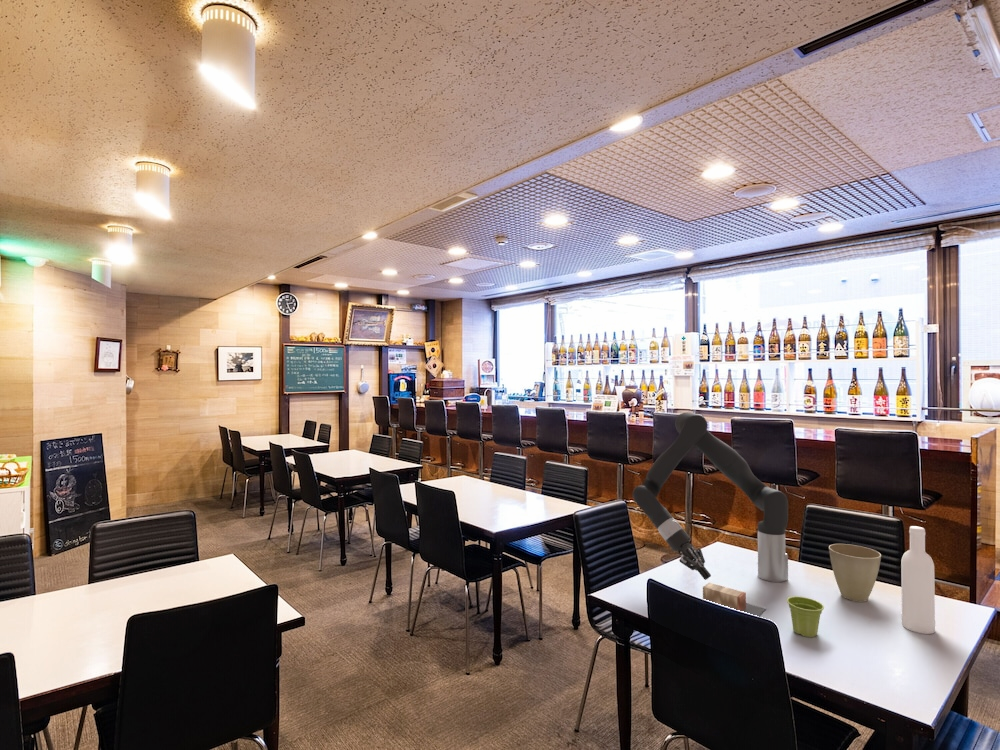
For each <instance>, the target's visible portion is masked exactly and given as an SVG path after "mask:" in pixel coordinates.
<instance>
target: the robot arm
mask: <svg viewBox="0 0 1000 750" xmlns="http://www.w3.org/2000/svg"><path fill="white" fill-rule="evenodd" d="M674 426H675V429H676V431H677V433H678V436H677V437H676V439H675V440H674V441H673V443H672V444H671V445H670V446H669V447H668V448H667V449H666V450H665V451H664V452H662V453H661V454H660V455H659V456H658V457H657V458H656V460H655V461H654V462H653V464H652V466H651V467H650V469H649V470H648V471H647V474H646V478H645V480H644V481H643V483H642V484H641V485H637V486H635V488H634V489H633V491H632V498H633V501H634V502H635V503H636V505H637V506H638V507H639V509H640V510H641V511H643V513H644V514H645V515H646V516H647V517H648V519H649V520H650V522H651V523H652V524H653V526H654V527H655V528H656V529H657V531H658V532H659V534H660V536H661V537H662V538H663V540H664V541H665V542H666V543H667V544H668V546H669V548H671V550H672V551H673V552H677V553H678V555H679V556H680V558H679V560H678V561H679V563H681V564H682V565H684V566H685V567H687V568H688V569H689V570H691V571H694V570H695V571H696V572H698V573H699V574H700V575H701V577H702V578H703V580H705V581H706V580H708V579H709V578H710V577H711V576H712V575H711V573H710V572H709V571H708V569H707V568H706V567H705V563H706V560H705V558H704V554H703V552H702V549H701V548H700V547H698V548H696V547H695V546H694V545H693V544H692V543H691V540H692V538H691V537H690V535H689V534H688V533H687V532H686V531H685V529H684V528H683V526H682V525H681V524H680V523H679V521H677V519H675V518H674V516H673V515H672V514H671V513H670V511H668V509H667V508H666V507H665V506H664V505H663V504H661V502H660V501H659V499H658V496H659V494H660V492H661V490H662V487H663V486H664V484H665V483H666V482H667V481H668V479H669V477H670V476H671V475H672V473H673V471H674V470H675V469H676V467H677V466H678V465H679V464H680V462H681V461H682V459H683V458H684V457H685V456H686V455H688V453H689V452H690V450H691V449H693V447H694V446H695V447H697V449H699V451H701V453H702V454H703V455H704V456H705V457H706V459H708V461H710V463H712V464H713V465H714V466H715V468H716V469H717V470H718V471H720V472H721V474H723V475H724V476H725V477H726V478H727V479H729V481H731V483H733V484H734V485H735V486H736V487H738V488H739V489H740V490H741V491H742V492H743V493H744V494H745V495H746V497H747V498H748V499H749V500H750V501H751V502H752V504H754V505H755V507H756V508H757V509H759V510H760V511H762V512H763V520H761V521H758V523H757V577H759V578H760V579H762V580H764V581H767V582H772V583H773V582H774V583H781V582H785V581H789V554H788V553H786V528H787V527H788V523H789V500H788V497H787V495H786V494H785V493H784V492H782V491H780V490H778V489H774V488H772V487H770V486H767V485H766V484H765V483H764V482H762V481H761V480H760V479H758V477H757V476H756V475H754V473H753V472H752V469H751V468H750V465H749V464H748V462H747V461H746V459H744V457H742V455H740V454H739V453H738V452H737V451H736V449H734V448H732V447H731V446H730V445H728V444H727V443H725V442H724V441H722V440H721V439H720V438H718V437H716V436H714V434H712V433H711V432H710V431H709V430H708V421H707V420H706V418H705V417H704V416H702V415H701V414H699V413H694V412H681V413H680V414H678V415H677V416H676V418H675V421H674Z"/></svg>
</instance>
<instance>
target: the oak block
mask: <svg viewBox="0 0 1000 750" xmlns="http://www.w3.org/2000/svg"><path fill="white" fill-rule="evenodd" d="M703 599H706V600H709V601H712V602H715V603H718V604H721V605H724V606H728V607H730V608H734V609H736V610H740V611H743V610H744V609H745V608H746V603H747V592H745V591H741V590H737V589H734V588H730V587H726V586H723V585H720V584H715V583H712V582H708V583H706V584H705V585H703V586H702V600H703Z"/></svg>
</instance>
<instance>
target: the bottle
mask: <svg viewBox="0 0 1000 750" xmlns="http://www.w3.org/2000/svg"><path fill="white" fill-rule="evenodd" d="M908 533H909V549H908V550H907V551H905V552H904V553H903V555H902V557H901V560H900V561H901V564H900V568H901V571H900V573H901V574H900V575H901V577H900V578H901V579H900V580H901V583H900V584H901V614H900V615H901V625H902V627H904V628H905V629H907V630H909V631H911V632H914V633H917V634H923V635H931V634H933V633H935V631H936V616H935V615H936V607H935V606H936V604H935V603H936V601H935V600H936V599H935V594H936V593H935V592H936V591H935V587H936V586H935V584H936V583H935V563H934V561H933V559H932V557H931V555H930V554H928V553H927V552H926V529H925V528H924V527H921V526H917V525H910V526H909V530H908Z"/></svg>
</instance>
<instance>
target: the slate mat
mask: <svg viewBox="0 0 1000 750" xmlns="http://www.w3.org/2000/svg"><path fill="white" fill-rule="evenodd" d="M766 610H767V608H765V607H761V606H759V605H756V604H755V605H754V604H751V603H748V602H746V608H745V609H744V610H743V611H744V612H747V613H750V614H753V615H757V616H759V617H760V616H761V615H762V614H763V613H764V612H765V611H766Z"/></svg>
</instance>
